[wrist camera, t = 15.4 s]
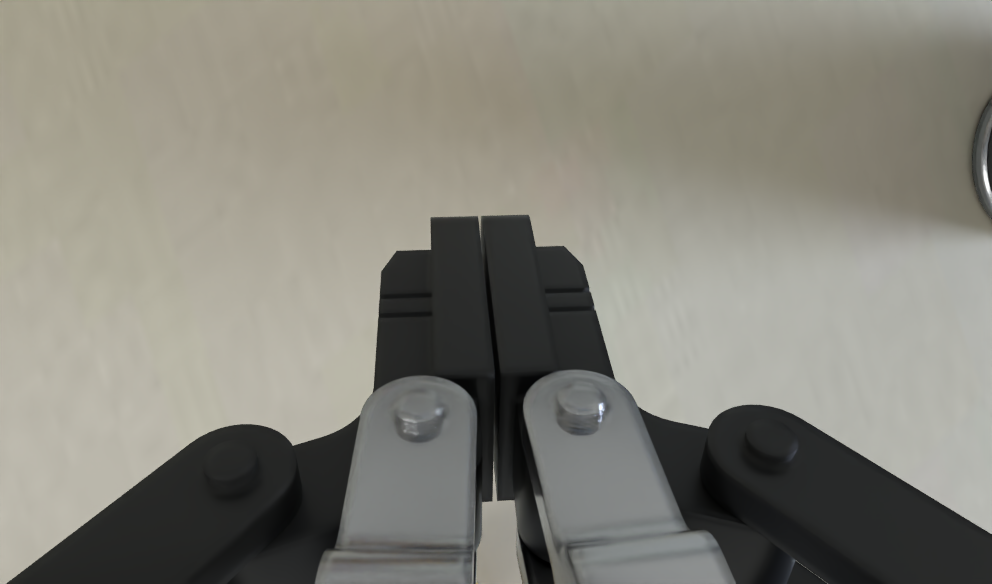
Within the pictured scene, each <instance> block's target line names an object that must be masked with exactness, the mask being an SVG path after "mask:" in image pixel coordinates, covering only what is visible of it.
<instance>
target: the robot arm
mask: <svg viewBox="0 0 992 584" xmlns="http://www.w3.org/2000/svg"><path fill="white" fill-rule="evenodd" d="M972 168H973V177H974V183H975V187H976V191H977V194H978V196H979V199H980V201H981V203H982V206H983V207H984V209H985V211H986V212H987V214H988V215H989V216H990V218H991V219H992V99H991V101H990V102H989V104H988V105H987V107H986V109H985V111H984V113H983V115H982V117H981V119H980V122H979V125H978V128H977V131H976V135H975V140H974V146H973V156H972ZM493 461H494V472H495V482H496V493H497V501H502V500H515V508H516V517H517V538H516V552H517V559H518V564H519V569H520V574H521V579H522V584H827V583H828V584H992V534H990V533H988V532H987V531H985V530H983V529H982V528H980V527H979V526H977V525H975V524H974V523H972V522H970V521H969V520H967V519H965V518H964V517H962V516H960V515H959V514H957V513H956V512H954V511H952V510H951V509H949V508H947V507H946V506H944V505H942V504H941V503H939V502H937V501H936V500H934V499H932V498H931V497H929V496H928V495H926V494H924V493H923V492H921V491H919V490H918V489H916V488H914V487H913V486H911V485H909V484H908V483H906V482H904V481H903V480H901V479H900V478H898V477H896V476H895V475H893V474H891V473H890V472H888V471H886V470H885V469H883V468H881V467H880V466H878V465H877V464H875V463H873V462H872V461H870V460H868V459H867V458H865V457H863V456H862V455H860V454H858V453H857V452H855V451H853V450H852V449H850V448H849V447H847V446H845V445H844V444H842V443H840V442H839V441H837V440H835V439H834V438H832V437H830V436H829V435H827V434H825V433H824V432H822V431H821V430H819V429H817V428H816V427H814V426H812V425H811V424H809V423H807V422H806V421H804V420H802V419H801V418H799V417H797V416H795V415H793V414H791V413H789V412H786V411H784V410H781V409H778V408H774V407H770V406H763V405H742V406H737V407H733V408H730V409H728V410H726V411H724V412H722V413H721V414H719V415H718V416H717V417H716V418H715V419H714V420H713V422H712V423H711V425H710V427H709V429H707V428H702V427H698V426H693V425H688V424H683V423H678V422H673V421H670V420H666V419H662V418H660V417H657V416H654V415H652V414H650V413H648V412H646V411H644V410H642V409H641V408H639V407H638V406H637V404H636V402H635V400H634V398H633V396H632V395H631V394H630V392H629V391H628V390H627V389H626V388H625V387H624V386H622V385H621V384H620V383H618V382H617V381H616V380H615V378H614V374H613V371H612V367H611V364H610V360H609V356H608V353H607V349H606V346H605V342H604V339H603V335H602V331H601V328H600V324H599V321H598V317H597V314H596V311H595V310H594V303H593V299H592V296H591V292H589V285H588V281H587V278H586V274H585V271H584V267H583V265H582V264H581V263H580V262H579V261H578V260H577V259H576V258H575V257H574V256H573V255H572V254H571V253H570V252H569V251H568V250H567V249H566V248H565V247H564V246H549V247H536V246H535V241H534V236H533V231H532V226H531V221H530V217H529V215H501V216H481V240H480V231H479V222H478V216H468V217H431V250H413V251H396V253H395V254H394V255H393V257H392V258H391V259H390V261H389V262H388V263H387V265H386V266H385V267H384V269H383V270H382V271H381V286H380V301H379V318H378V332H377V347H376V362H375V377H374V389H373V394H372V395H371V396H370V397H369V398H368V399H367V401H366V402H365V404H364V406H363V408H362V411H361V414H360V416H359V417H357V418H356V419H355V420H354V421H353V422H352V423H350V424H349V425H347V426H345V427H344V428H342V429H340V430H338V431H336V432H334V433H332V434H329V435H327V436H324V437H321V438H318V439H314V440H311V441H308V442H304V443H301V444H298V445H294V446H292V444H291V443H290V441H289V440H288V439H287V438H286V437H285V436H284V435H282V434H281V433H279V432H278V431H276V430H273V429H271V428H268V427H265V426H260V425H252V424H241V425H233V426H228V427H224V428H220V429H217V430H214V431H212V432H209V433H207V434H205V435H203V436H201V437H199V438H198V439H196V440H195V441H193V442H192V443H190V444H189V445H188V446H186V447H185V448H184V449H183V450H181V451H180V452H179V453H177V454H176V455H175V456H173V457H172V458H171V459H169V460H168V461H167V462H165V463H164V464H163V465H162V466H160V467H159V468H158V469H156V470H155V471H154V472H152V473H151V474H150V475H148V476H147V477H146V478H144V479H143V480H142V481H141V482H139V483H138V484H137V485H135V486H134V487H133V488H131V489H130V490H129V491H127V492H126V493H125V494H123V495H122V496H121V497H120V498H118V499H117V500H116V501H114V502H113V503H112V504H110V505H109V506H108V507H106V508H105V509H104V510H102V511H101V512H100V513H99V514H97V515H96V516H95V517H93V518H92V519H91V520H89V521H88V522H87V523H85V524H84V525H83V526H81V527H80V528H79V529H78V530H76V531H75V532H74V533H72V534H71V535H70V536H68V537H67V538H66V539H64V540H63V541H62V542H60V543H59V544H58V545H57V546H55V547H54V548H53V549H51V550H50V551H49V552H47V553H46V554H45V555H43V556H42V557H41V558H39V559H38V560H37V561H36V562H34V563H33V564H32V565H30V566H29V567H28V568H26V569H25V570H24V571H22V572H21V573H20V574H18V575H17V576H16V577H15V578H13V579H12V580H11V581H9V582H8V583H7V584H476V562H477V547H478V545H479V543H480V539H481V535H482V502H488V501H492V493H493ZM797 561H798V562H799V563H798V562H797ZM801 564H802V565H803V566H802V565H801ZM804 566H805V567H806V568H805V567H804ZM808 569H809V570H810V571H809V570H808ZM811 571H812V572H813V573H814V574H813V573H812V572H811ZM815 574H816V575H817V576H816V575H815ZM819 577H820V578H821V579H820V578H819ZM822 579H823V580H824V581H823V580H822ZM826 582H827V583H826Z"/></svg>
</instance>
